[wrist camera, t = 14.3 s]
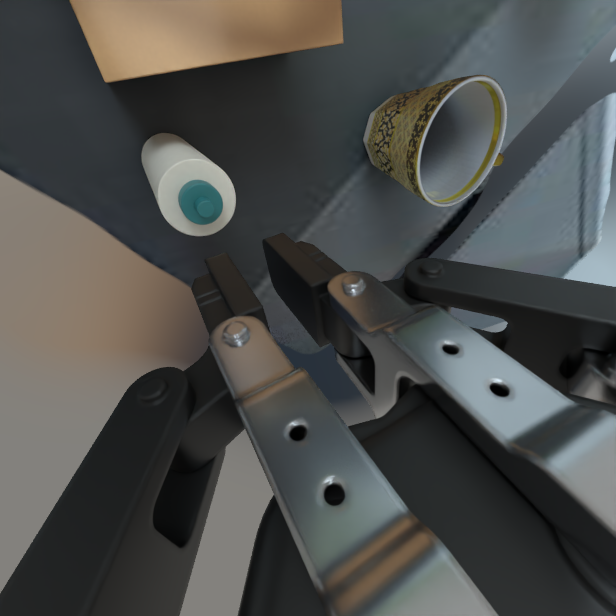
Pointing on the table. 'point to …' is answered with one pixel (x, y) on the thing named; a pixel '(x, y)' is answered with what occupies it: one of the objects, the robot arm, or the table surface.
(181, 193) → the lotion bottle
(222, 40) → the cabinet
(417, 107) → the ceramic cup
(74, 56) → the table surface
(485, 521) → the robot arm
